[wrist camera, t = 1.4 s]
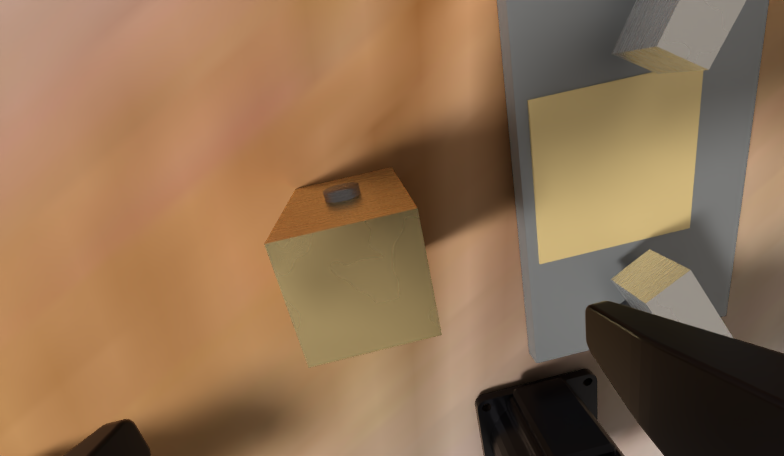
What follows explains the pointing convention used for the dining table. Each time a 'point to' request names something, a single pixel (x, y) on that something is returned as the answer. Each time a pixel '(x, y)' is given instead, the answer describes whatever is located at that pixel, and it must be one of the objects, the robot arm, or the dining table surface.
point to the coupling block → (353, 267)
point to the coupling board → (619, 158)
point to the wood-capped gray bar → (661, 55)
